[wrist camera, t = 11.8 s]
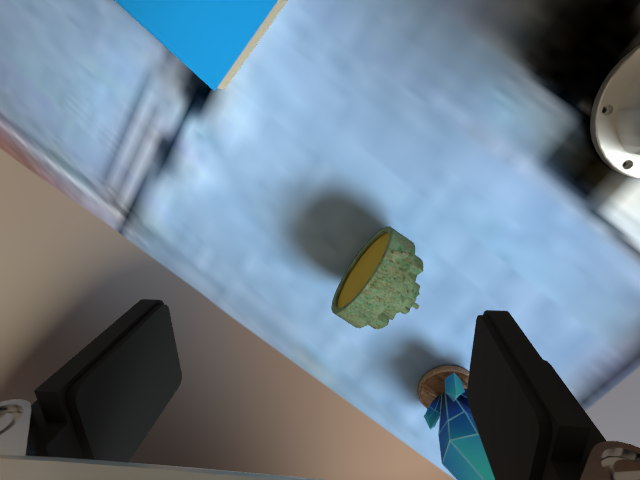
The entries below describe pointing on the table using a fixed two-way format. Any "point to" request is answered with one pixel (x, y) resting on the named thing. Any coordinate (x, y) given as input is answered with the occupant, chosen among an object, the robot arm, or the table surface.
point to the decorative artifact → (379, 281)
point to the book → (207, 31)
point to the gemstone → (454, 422)
